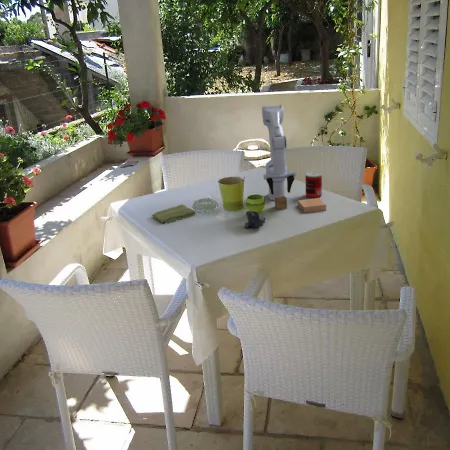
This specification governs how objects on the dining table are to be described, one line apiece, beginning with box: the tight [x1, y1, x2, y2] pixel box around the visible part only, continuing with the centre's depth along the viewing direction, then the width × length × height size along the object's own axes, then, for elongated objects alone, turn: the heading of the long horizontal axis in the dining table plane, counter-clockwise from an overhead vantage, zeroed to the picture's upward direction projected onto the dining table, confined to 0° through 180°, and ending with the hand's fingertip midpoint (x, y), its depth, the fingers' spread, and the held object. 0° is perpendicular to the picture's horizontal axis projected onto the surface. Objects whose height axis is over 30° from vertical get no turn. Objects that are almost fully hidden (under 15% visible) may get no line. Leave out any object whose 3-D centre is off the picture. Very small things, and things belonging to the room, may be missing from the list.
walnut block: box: [274, 195, 288, 211], centre depth 222 cm, size 4×4×5 cm
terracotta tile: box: [297, 197, 327, 214], centre depth 219 cm, size 10×10×2 cm
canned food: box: [304, 171, 323, 199], centre depth 233 cm, size 8×8×11 cm
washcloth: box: [151, 204, 196, 224], centre depth 222 cm, size 13×18×3 cm
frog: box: [244, 210, 267, 229], centre depth 202 cm, size 9×11×7 cm
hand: (280, 192), depth 220 cm, fingers open, 7 cm apart
